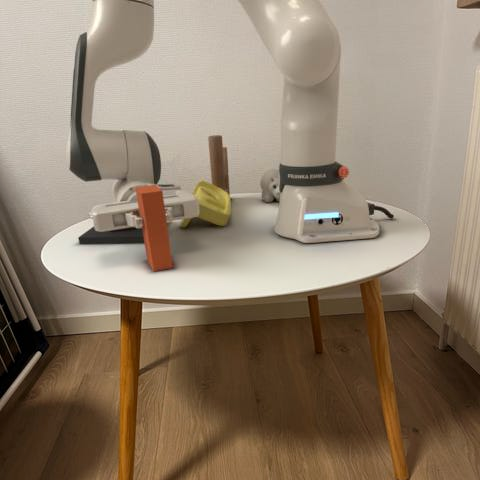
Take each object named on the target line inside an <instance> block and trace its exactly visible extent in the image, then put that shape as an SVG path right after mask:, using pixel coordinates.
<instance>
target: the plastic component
mask: <svg viewBox="0 0 480 480" xmlns="http://www.w3.org/2000/svg"><path fill="white" fill-rule="evenodd" d="M192 194H193V195H195V196H196V197H197V198H198V201H199V211H200V213H199V216H197V217H196V218H198V219H201V220H203V221H206V222H208V223H211V224H213V225H217V226H220V227H224V226H226V225H227V224H228V221H229V218H230V216H231V213H232V212H231V211H232V208H231V207H232V204H231V194H230V195H229V194H228V193H227V192H226V191H224V190H223V189H221V188H218V187H216V186H215V185H213V184H212V183H210V182H207V181H206V180H199V181H198V182H197V184H196V185H195V188H194V189H193V191H192ZM191 220H192V218H186V219H181V222H180V225H179V227H181V228H186V227H188V224H189V223H190V222H191Z"/></svg>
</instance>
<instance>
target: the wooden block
mask: <svg viewBox="0 0 480 480" xmlns="http://www.w3.org/2000/svg"><path fill="white" fill-rule="evenodd" d="M207 141H208V153H209V164H210V166H209V167H210V177H211V184H213V185H215V186H216V187H218V188H221V189H223V190H224V191H226V192H227V193H228V194H229V195H230V196H231V192H230V179H229V177H230V176H229V161H228V147H226V146H223V136H222V135H219V134H215V135H214V134H213V135H209V136H208V137H207Z"/></svg>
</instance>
